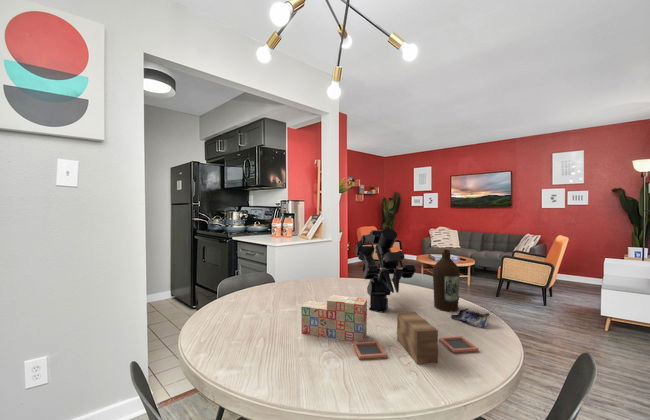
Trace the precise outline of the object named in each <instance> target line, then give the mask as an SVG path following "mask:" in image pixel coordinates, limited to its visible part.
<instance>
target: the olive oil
mask: <svg viewBox="0 0 650 420" xmlns="http://www.w3.org/2000/svg"><path fill="white" fill-rule="evenodd" d="M441 249H442V250H441V258H440V259H439V260H438V261H437V262H436V263H435V264H434V265H433V268H432V282H433V283H432V285H433V307H434V308H435V309H437V310H439V311H442V312H456V311H458V310H459V300H460V295H459V294H460V293H459V292H460V277H461V276H460V275H461V272H460V268H459V266H458V265H457V264H456V263H455V262H454V261H453V259H451V249H450V248H441Z"/></svg>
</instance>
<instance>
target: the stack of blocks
mask: <svg viewBox="0 0 650 420" xmlns="http://www.w3.org/2000/svg"><path fill="white" fill-rule="evenodd" d="M300 307H301V312H300V313H301V323H300V324H301V334H304V335H305V334H306V335H312V336H318V337H324V338H329V337H330V339H335V340H337V339H338V340H342V341H343V340H344V341H348V342H349V341H350V342H353V343H358V342H365V340H366V337H367V332H368V331H367V325H368V323H367V319H368V318H367V317H368V299H367V298H361V297H360V298H359V297H356V296H355V297H354V296H346V295H345V296H343V295H336V294H335V295H331V296H329V298H328V299H327V300H326V302H321V301H311V300H308V301H306V302H304V304H302V305H301V306H300Z"/></svg>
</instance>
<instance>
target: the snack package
mask: <svg viewBox="0 0 650 420" xmlns="http://www.w3.org/2000/svg"><path fill="white" fill-rule="evenodd" d="M490 314H491V313H490V312H487V313H480V312H478V311H475V310H474V311H473V310H472V311H470V310H469V308H467V307H466V308H462V309H460V310H459V311H458V312H457V313H456V314H451V316H450V318H451V319H455V320H458V321H463V322H465V323H468V324H470V325H472V326H474V324H475V327H477V328H481V329H485V328H486V326H487V325H488V322H489V318H490ZM468 320H469V321H468Z"/></svg>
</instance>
